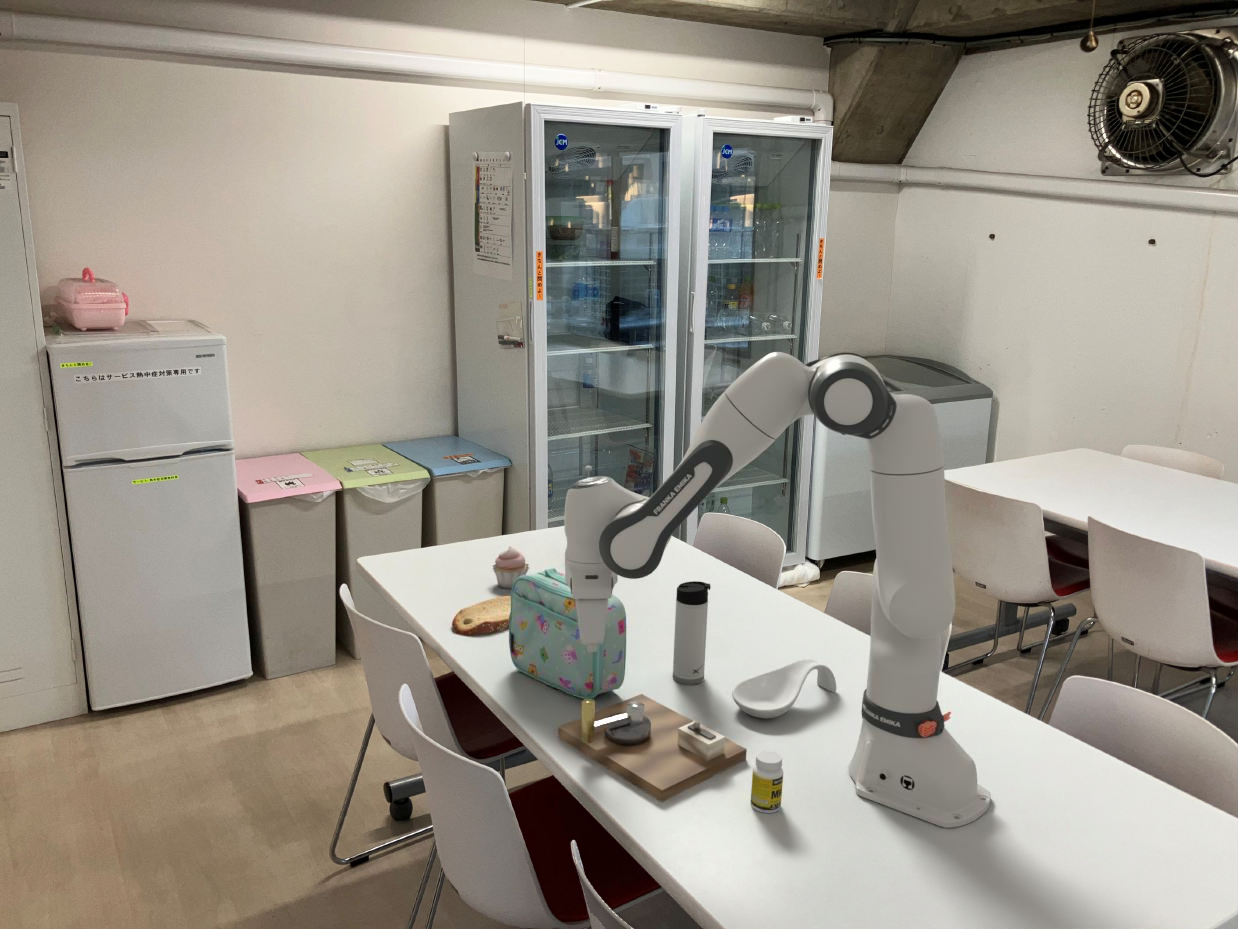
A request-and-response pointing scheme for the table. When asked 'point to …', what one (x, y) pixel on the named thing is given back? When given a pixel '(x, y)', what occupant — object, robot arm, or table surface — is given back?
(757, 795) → the supplement bottle
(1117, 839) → the table surface
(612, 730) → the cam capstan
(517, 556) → the cupcake
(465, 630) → the slice of bread
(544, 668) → the lunch box
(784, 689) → the spoon rest
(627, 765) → the stand
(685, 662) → the travel mug
